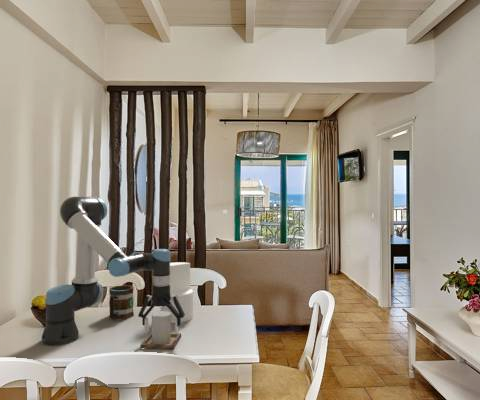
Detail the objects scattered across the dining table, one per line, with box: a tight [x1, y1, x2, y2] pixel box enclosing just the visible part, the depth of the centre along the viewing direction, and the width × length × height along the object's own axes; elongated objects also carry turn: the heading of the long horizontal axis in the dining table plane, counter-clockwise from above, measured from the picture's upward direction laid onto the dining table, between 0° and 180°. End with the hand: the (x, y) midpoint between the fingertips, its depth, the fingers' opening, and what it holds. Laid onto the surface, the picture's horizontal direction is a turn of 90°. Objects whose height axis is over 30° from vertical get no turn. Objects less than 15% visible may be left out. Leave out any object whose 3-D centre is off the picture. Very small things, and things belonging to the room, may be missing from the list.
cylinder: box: [159, 261, 194, 324], centre depth 195 cm, size 17×17×28 cm
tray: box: [140, 332, 182, 351], centre depth 160 cm, size 14×14×2 cm
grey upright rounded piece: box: [151, 311, 172, 344], centre depth 160 cm, size 8×8×12 cm
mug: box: [108, 284, 135, 321], centre depth 195 cm, size 20×14×15 cm
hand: (161, 332), depth 160 cm, fingers open, 13 cm apart
